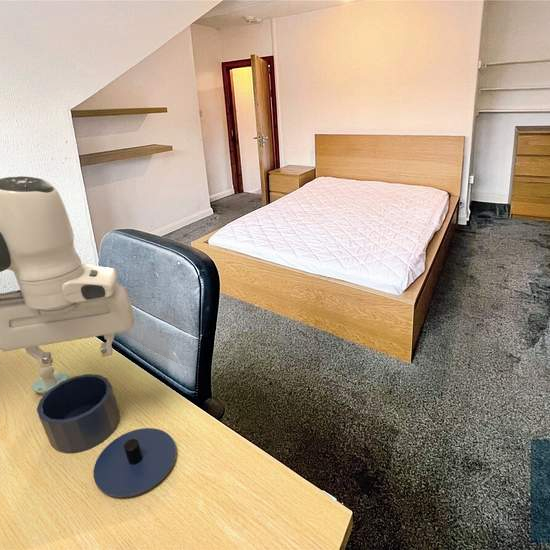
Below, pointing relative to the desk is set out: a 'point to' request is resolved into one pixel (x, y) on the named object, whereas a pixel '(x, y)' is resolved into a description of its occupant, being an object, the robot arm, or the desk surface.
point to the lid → (134, 462)
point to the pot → (79, 413)
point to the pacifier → (48, 379)
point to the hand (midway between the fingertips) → (78, 359)
